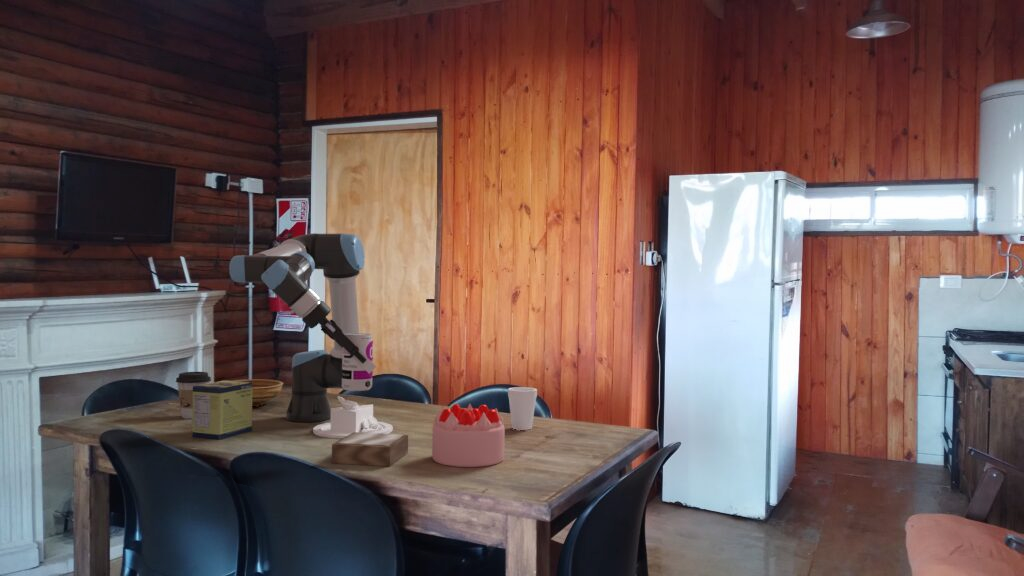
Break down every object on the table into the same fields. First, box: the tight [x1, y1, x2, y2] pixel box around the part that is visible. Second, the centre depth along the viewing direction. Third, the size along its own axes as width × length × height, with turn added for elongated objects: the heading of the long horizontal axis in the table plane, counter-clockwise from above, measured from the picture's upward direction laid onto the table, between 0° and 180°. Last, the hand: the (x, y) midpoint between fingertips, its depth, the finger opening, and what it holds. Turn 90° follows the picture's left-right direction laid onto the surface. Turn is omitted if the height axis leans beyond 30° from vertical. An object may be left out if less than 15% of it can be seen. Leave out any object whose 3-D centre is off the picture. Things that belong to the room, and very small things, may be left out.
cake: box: [431, 403, 506, 468], centre depth 215 cm, size 20×20×14 cm
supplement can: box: [342, 332, 374, 392], centre depth 215 cm, size 8×8×15 cm
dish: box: [312, 395, 394, 440], centre depth 250 cm, size 25×25×11 cm
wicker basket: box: [232, 378, 284, 407], centre depth 296 cm, size 30×24×8 cm
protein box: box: [191, 379, 253, 440], centre depth 243 cm, size 10×16×16 cm
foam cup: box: [507, 386, 538, 431], centre depth 258 cm, size 10×9×13 cm
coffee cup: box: [175, 371, 212, 420], centre depth 269 cm, size 11×11×15 cm
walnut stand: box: [331, 432, 409, 467], centre depth 214 cm, size 16×16×5 cm
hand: (369, 368), depth 216 cm, fingers closed on supplement can, 8 cm apart
